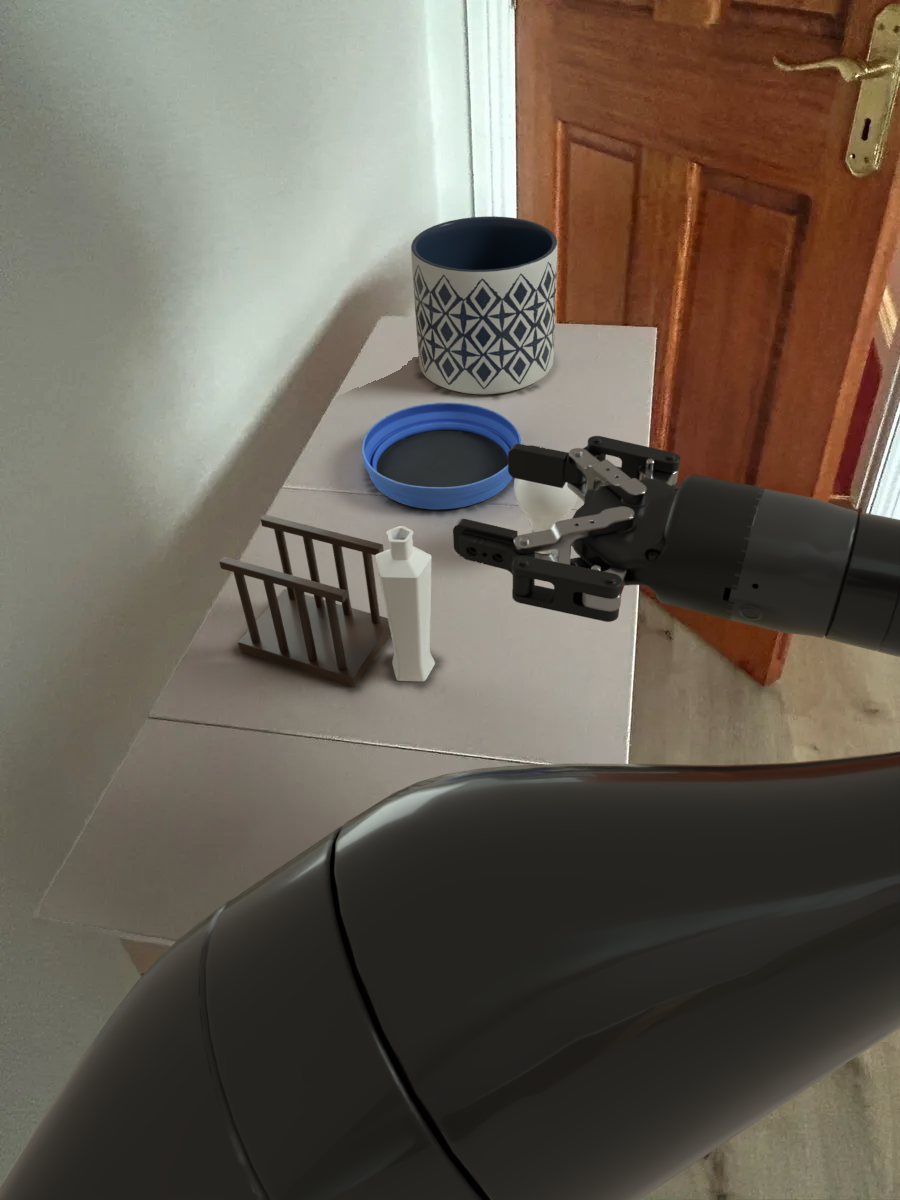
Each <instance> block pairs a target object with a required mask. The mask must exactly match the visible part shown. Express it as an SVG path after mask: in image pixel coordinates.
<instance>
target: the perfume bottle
mask: <svg viewBox="0 0 900 1200" xmlns="http://www.w3.org/2000/svg"><path fill="white" fill-rule="evenodd" d="M414 534H415V532H414V531H413V530H412V529H410V528H409V527H406V526H405V525H398V526H396V527H392V528H390V529H388V530H387V531H386V537H387V540H388V545H389V546H388V547H389V548H388V549H386V550H384V551H383V552H381V553H378V554H376V555H374V557H375V563H376V568H377V573H378V577H379V582H380V587H381V593H382V598H383V601H384V602H383V603H384V607H385V612H386V616H387V617H386V618H388V622H389V627H390V632H391V635H390V637H391V641H392V646H393V651H394V652H393V656H392V661H391V664H392V669H393V673H394V676H395V679H396V681H398V682H426V680H427V679H428V677H429V675H430V673H431V672H432V671H433V668H434V666H435V665H436V661H435V659H434V658H433V656H432V654H431V611H432V610H431V608H432V607H431V605H432V594H431V593H432V554H430V553H427V552H426V551H424V550H422V549H420V548H418V547H416V546H414V542H413V535H414Z"/></svg>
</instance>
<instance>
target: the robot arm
mask: <svg viewBox="0 0 900 1200" xmlns="http://www.w3.org/2000/svg"><path fill="white" fill-rule="evenodd" d="M607 456H611V457H615V458H618V459H620V461H621V465H620V466H618V465H615V464H614V463H613V462H611V461H610V460H608V459H607ZM680 464H681V455H680V454H678V453H676V452H673V451H669V450H668V451H667V450H664V449H659V448H655V447H650V446H646V445H642V444H637V443H634V442H628V441H624V440H619V439H615V438H610V437H606V436H601V435H592V436H590V437H589V438H588V439H587V445H586V446H585V447H583V448H580V447H575V448H572V449H570V450H569V452H568V451H567V452H566V451H561V450H558V449H552V448H546V447H540V446H537V445H528V444H515V445H513V447H512V448H511V450H510V451H509V453H508V472H509V474H510V476H512V477H513V478H512V479H515V478H516V479H521V480H526V481H530V482H535V483H540V484H544V485H549V486H554V487H558V488H563V487H564V485H565V483H566V482H567V486H568V488H569V489H570V490H572V491H573V492H574V493H575V494H576V495H577V496H579V497H578V498H580V499H581V500H582V501H583V505H581V506H580V507H579V508H578V509H577V510H576V511H575V513H574V514H573V516H572V518H568V519H563V520H561V521H558V522H556V523H554V524H553V526H552V527H551V528H550V529H549V530H545V531H539V532H534V533H532V532H529V533H524V534H518V533H519V531H518V530H514V529H511V528H506V527H502V526H498V525H494V524H490V523H485V522H481V521H477V520H472V519H468V518H460V519H458V521H457V522H456V524H455V525H454V526H453V527H452V537H453V538H452V539H453V550H454V551H455V552H456V553H457V555H459V556H460V557H461V558H463V559H465V560H466V561H470V562H474V563H475V562H476V563H478V564H483V565H487V566H490V567H493V568H497V569H502V570H504V571H505V570H506V571H507V572H509V573H510V574H511V575H512V589H511V597H512V600H513V601H514V602H516V603H518V604H522V605H527V606H532V607H536V608H540V609H545V610H550V611H555V612H560V613H564V614H568V615H573V616H578V617H582V618H587V619H592V620H595V621H600V622H605V623H612V622H614V621H616V620H617V619H618V618H619V615H620V608H621V601H622V594H623V591H624V588H625V586H643V587H646V588H649V589H650V590H651V591H652V592H653V593H654V595H655V598H656V599H657V601H658V602H660V603H661V604H664V605H668V606H672V607H676V608H679V609H684V610H687V611H688V610H689V611H691V612H696V613H700V614H704V615H707V616H708V615H709V616H712V617H715V618H721V619H723V620H724V619H725V620H729V621H733V622H736V623H741V624H745V625H749V626H751V627H756V628H761V629H765V630H769V631H773V632H778V633H784V634H791V635H800V636H808V637H814V638H819V639H823V638H825V640H829V641H834V642H836V643H840V644H844V645H849V646H853V647H857V648H860V649H864V650H865V649H866V650H869V651H874V652H876V651H877V652H878V653H881V654H884V655H890V656H892V657H897V658H900V519H898V518H894V517H893V518H892V517H888V516H883V515H878V514H873V513H867V512H863V511H860V512H859V513H858V511H857V510H853V509H850V508H846V507H842V506H840V505H837V504H833V503H831V502H828V501H825V500H822V499H819V498H816V497H810V496H807V495H802V494H796V493H792V492H787V491H782V490H776V489H772V488H767V487H762V486H757V485H751V484H747V483H742V482H737V481H736V482H735V481H731V480H726V479H722V478H716V477H710V476H706V475H701V474H689V475H687V476H686V477H684V478H683V479H682V481H680V482H681V483H680V484H679V485H678V478H679V472H680V466H681V465H680ZM677 486H678V487H677ZM572 549H573V552H575V554H577V557H572V556H571V553H572ZM547 550H552V552H551V553H549V555H547V556H545V557H539V558H538V557H536V553H538V552H541V551H547ZM571 557H572V558H571ZM536 580H537V581H542V582H547V583H550V584H552V586H553V588H550V587H545V586H540V585H537V584H535V581H536ZM899 1030H900V750H896V751H888V752H879V753H872V754H862V755H854V756H846V757H836V758H826V759H816V760H806V761H794V762H779V763H778V762H776V763H775V762H774V763H747V764H746V763H745V764H744V763H743V764H742V763H741V764H679V763H678V764H677V763H675V764H670V763H669V764H667V763H661V764H660V763H551V764H550V763H549V764H547V763H546V764H524V765H523V764H522V765H521V764H520V765H519V764H518V765H504V766H493V767H483V768H474V769H468V770H463V771H462V770H461V771H456V772H451V773H445V774H441V775H438V776H433V777H431V778H428V779H423V780H419V781H417V782H415V783H413V784H410V785H408V786H406V787H404V788H402V789H399V790H397V791H395V792H393V793H391V794H390V795H388V796H386V797H385V798H383V799H382V800H380V801H378V802H377V803H375V804H374V805H372V806H369V808H366V809H365V810H363V811H362V812H361V813H359V814H357V815H356V816H353V817H352V818H351V819H349V820H348V821H346V822H345V823H344V824H342V825H341V826H338V828H336V829H335V830H333V831H332V832H330V833H328V834H327V835H326V836H325V837H323V838H322V839H319V840H318V841H316V842H315V843H314V844H312V845H311V846H310V847H308V848H307V849H305V850H303V851H302V852H300V853H299V854H298V855H296V856H294V857H293V858H292V859H290V860H289V861H287V862H285V863H284V864H282V865H280V866H279V867H278V868H277V869H275V870H274V871H272V872H271V873H268V875H266V876H264V877H263V878H262V879H260V880H259V881H257V882H256V883H253V885H251V886H250V887H248V888H247V889H245V890H244V891H242V892H241V893H239V894H238V895H236V896H234V897H233V898H232V899H230V900H228V901H226V902H225V903H224V904H222V905H221V906H220V907H219V908H218V909H216V910H214V911H213V912H211V914H209V915H208V916H207V917H205V918H204V919H203V920H201V921H199V923H197V924H196V925H195V926H193V928H191V929H190V930H188V931H187V932H186V933H184V935H182V936H181V937H180V938H178V939H177V940H176V941H175V942H174V943H173V944H171V946H169V947H168V948H167V949H166V950H165V951H164V952H163V953H161V954H160V956H159V957H158V958H156V960H155V961H154V962H153V963H152V964H151V965H150V966H149V967H148V969H146V971H145V972H144V973H143V974H142V975H141V976H140V978H139V979H137V981H136V982H135V984H134V985H133V986H132V988H131V989H130V990H129V991H128V993H127V994H126V995H125V997H124V998H123V1000H122V1001H121V1002H120V1003H119V1004H118V1006H117V1007H116V1008H115V1010H114V1011H113V1012H112V1013H111V1015H110V1016H109V1018H108V1019H107V1021H106V1022H105V1023H104V1025H103V1026H102V1027H101V1029H100V1030H99V1032H98V1033H97V1035H96V1036H95V1037H94V1039H92V1041H91V1043H90V1044H89V1046H88V1047H87V1048H86V1049H85V1050H84V1052H83V1054H82V1055H81V1056H80V1058H79V1059H78V1061H77V1062H76V1064H75V1066H74V1067H73V1069H72V1070H71V1071H70V1073H69V1075H68V1076H67V1078H66V1079H65V1081H64V1082H63V1084H62V1086H61V1087H60V1089H59V1090H58V1091H57V1093H56V1095H55V1096H54V1097H53V1099H52V1100H51V1102H50V1104H49V1105H48V1107H47V1108H46V1110H45V1112H44V1113H43V1114H42V1116H41V1118H40V1119H39V1121H38V1123H37V1124H36V1126H35V1127H34V1129H33V1131H32V1132H31V1134H30V1136H29V1137H28V1138H27V1140H26V1142H25V1144H24V1145H23V1147H22V1149H21V1150H20V1152H19V1154H18V1155H17V1157H16V1159H15V1160H14V1161H13V1163H12V1165H11V1167H10V1169H9V1170H8V1172H7V1173H6V1175H5V1177H4V1178H3V1180H2V1182H1V1183H0V1200H642V1199H643V1198H645V1197H646V1196H648V1195H649V1194H651V1193H652V1192H654V1191H655V1190H657V1189H659V1188H660V1187H661V1186H663V1185H664V1184H666V1183H667V1182H669V1181H671V1180H672V1179H673V1178H675V1177H676V1176H678V1175H679V1174H681V1173H682V1172H684V1171H685V1170H687V1169H688V1168H690V1167H691V1166H693V1165H694V1164H696V1163H697V1162H699V1161H700V1160H702V1159H703V1158H705V1157H706V1156H707V1155H709V1154H711V1153H712V1152H714V1151H715V1150H716V1149H719V1148H720V1147H721V1146H723V1145H724V1144H726V1143H727V1142H729V1141H730V1140H731V1139H734V1137H736V1136H738V1135H739V1134H741V1133H742V1132H743V1131H745V1130H747V1129H748V1128H750V1127H751V1126H753V1125H754V1124H756V1123H757V1122H759V1121H760V1120H762V1119H764V1118H765V1117H766V1116H768V1115H769V1114H771V1113H772V1112H774V1111H776V1110H777V1109H779V1108H781V1107H782V1106H783V1105H785V1104H786V1103H789V1101H791V1100H792V1099H794V1098H795V1097H797V1096H799V1095H800V1094H803V1092H805V1091H807V1090H808V1089H809V1088H811V1087H812V1086H814V1085H816V1084H817V1083H819V1082H820V1081H822V1080H823V1079H824V1078H826V1077H828V1076H829V1075H831V1074H833V1073H834V1072H836V1071H837V1070H838V1069H840V1068H842V1067H843V1066H845V1065H846V1064H848V1063H849V1062H850V1061H852V1060H854V1059H855V1058H857V1057H858V1056H859V1055H861V1054H863V1053H865V1052H866V1051H868V1050H869V1049H871V1048H872V1047H874V1046H876V1044H878V1043H880V1042H881V1041H883V1040H885V1039H886V1038H888V1037H889V1036H891V1035H893V1034H894V1033H896V1032H898V1031H899Z"/></svg>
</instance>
